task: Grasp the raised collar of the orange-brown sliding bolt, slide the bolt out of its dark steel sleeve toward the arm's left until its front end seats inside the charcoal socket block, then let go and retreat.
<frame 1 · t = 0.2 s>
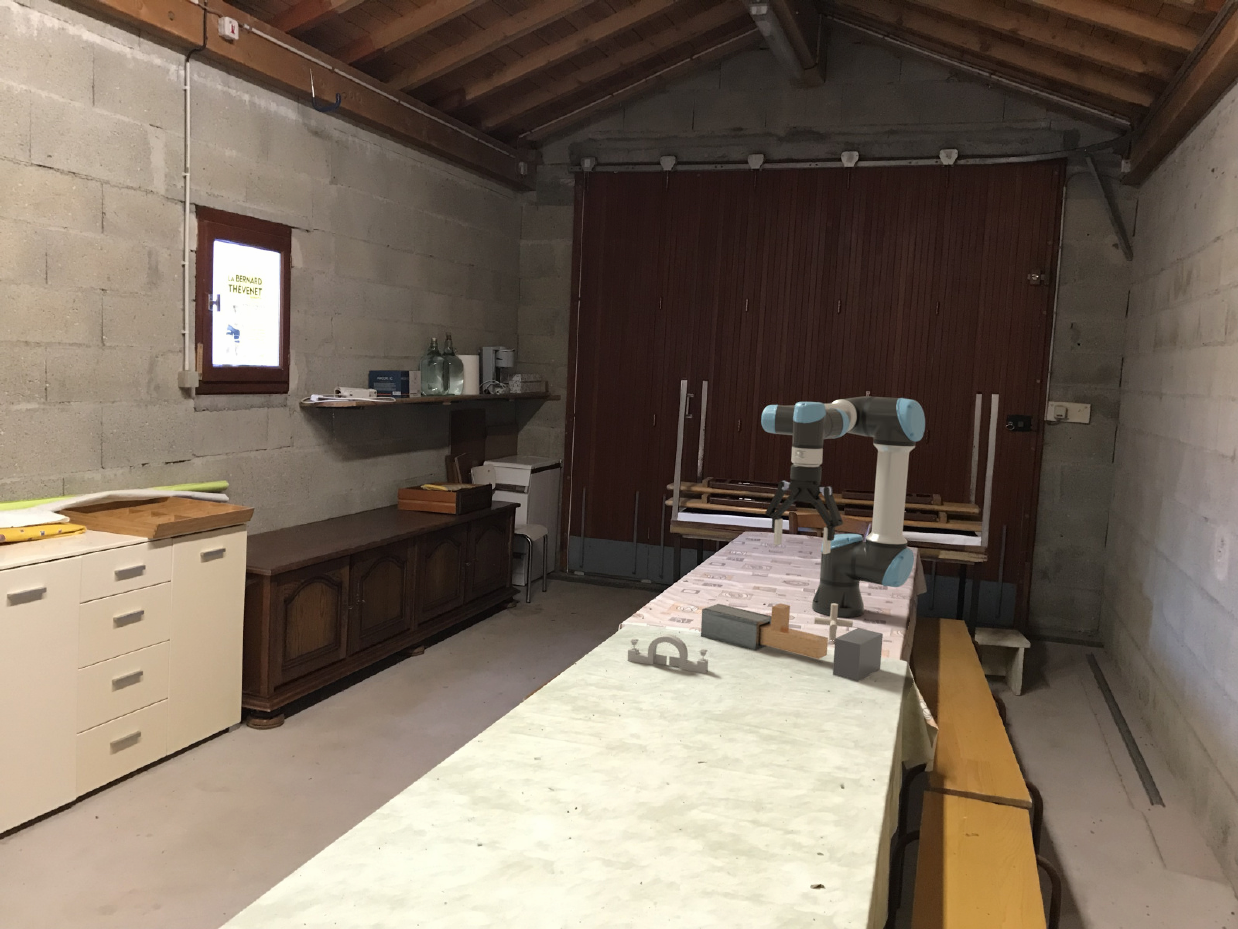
hand: (801, 548, 238), 28 cm above the table, fingers open, 13 cm apart
socket block: (856, 672, 232), on the table
orange-brown sliding bolt: (771, 623, 246), point 7 cm above the table, slide at 0.0 cm
cream cross joint: (832, 641, 256), on the table
gateway: (667, 667, 232), on the table
sleeve: (735, 640, 254), on the table
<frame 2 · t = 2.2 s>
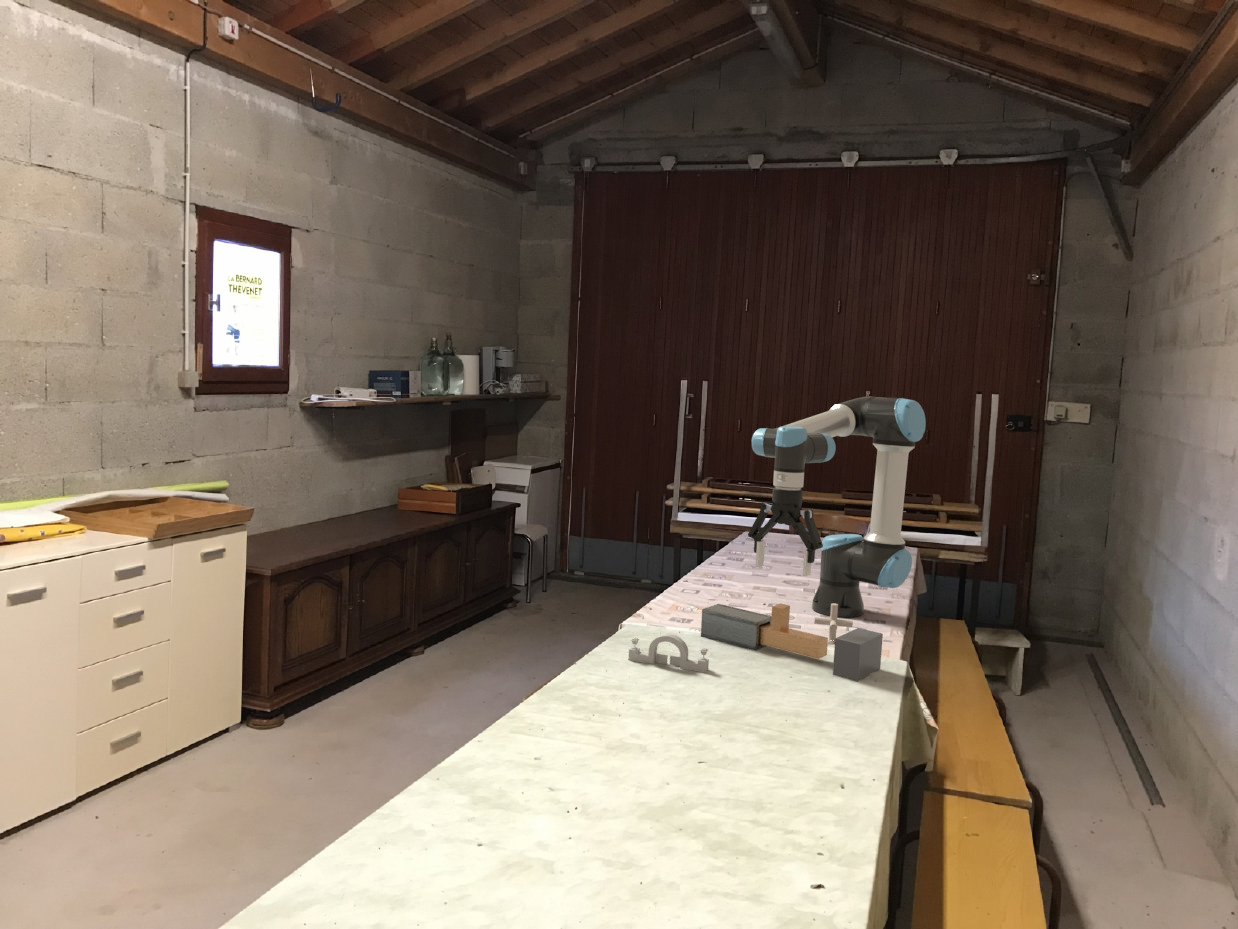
hand: (782, 570, 243), 21 cm above the table, fingers open, 13 cm apart
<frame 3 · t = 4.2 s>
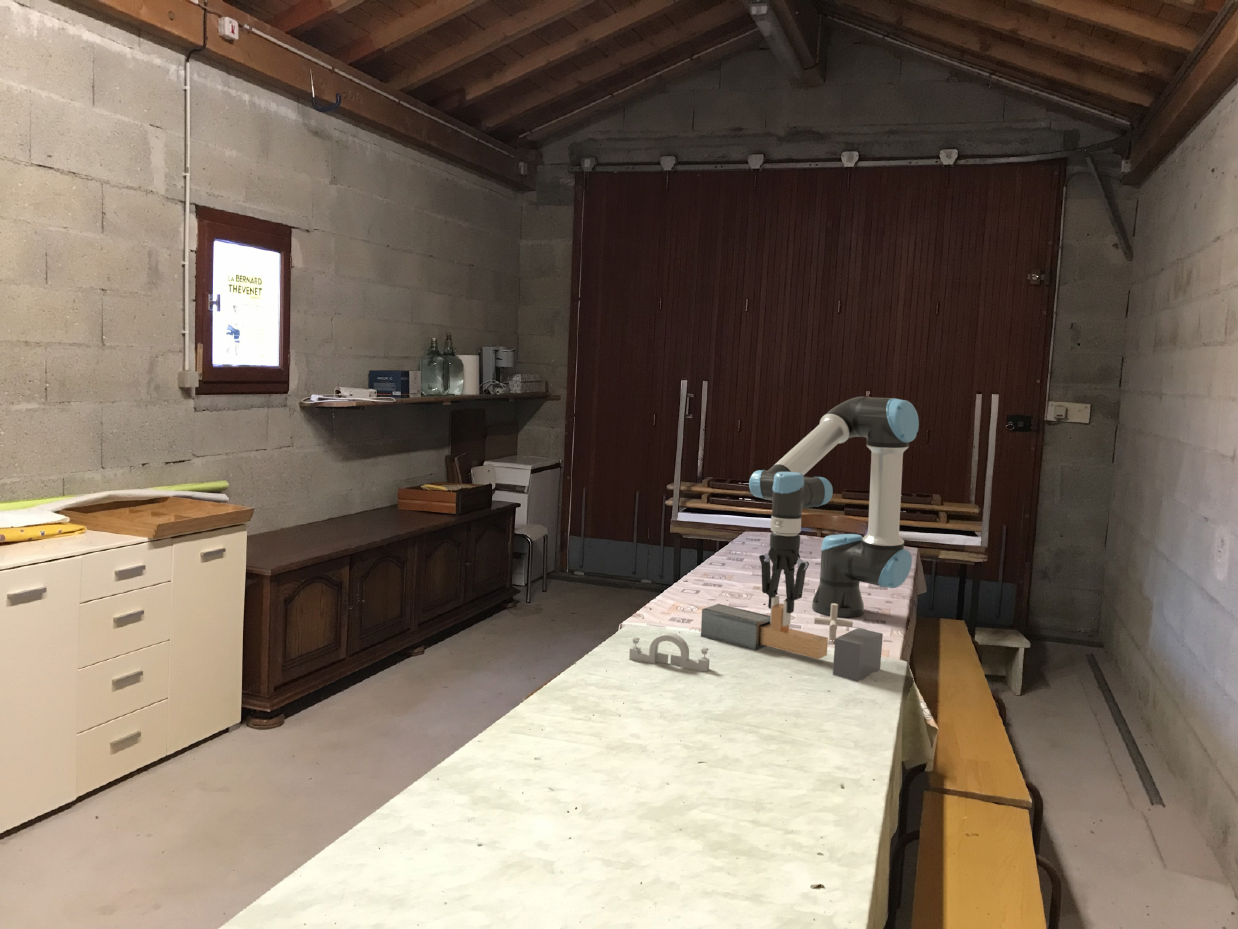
hand: (780, 623, 244), 8 cm above the table, fingers closed on orange-brown sliding bolt, 3 cm apart
orange-brown sliding bolt: (771, 623, 246), point 7 cm above the table, slide at 0.0 cm, touching gripper
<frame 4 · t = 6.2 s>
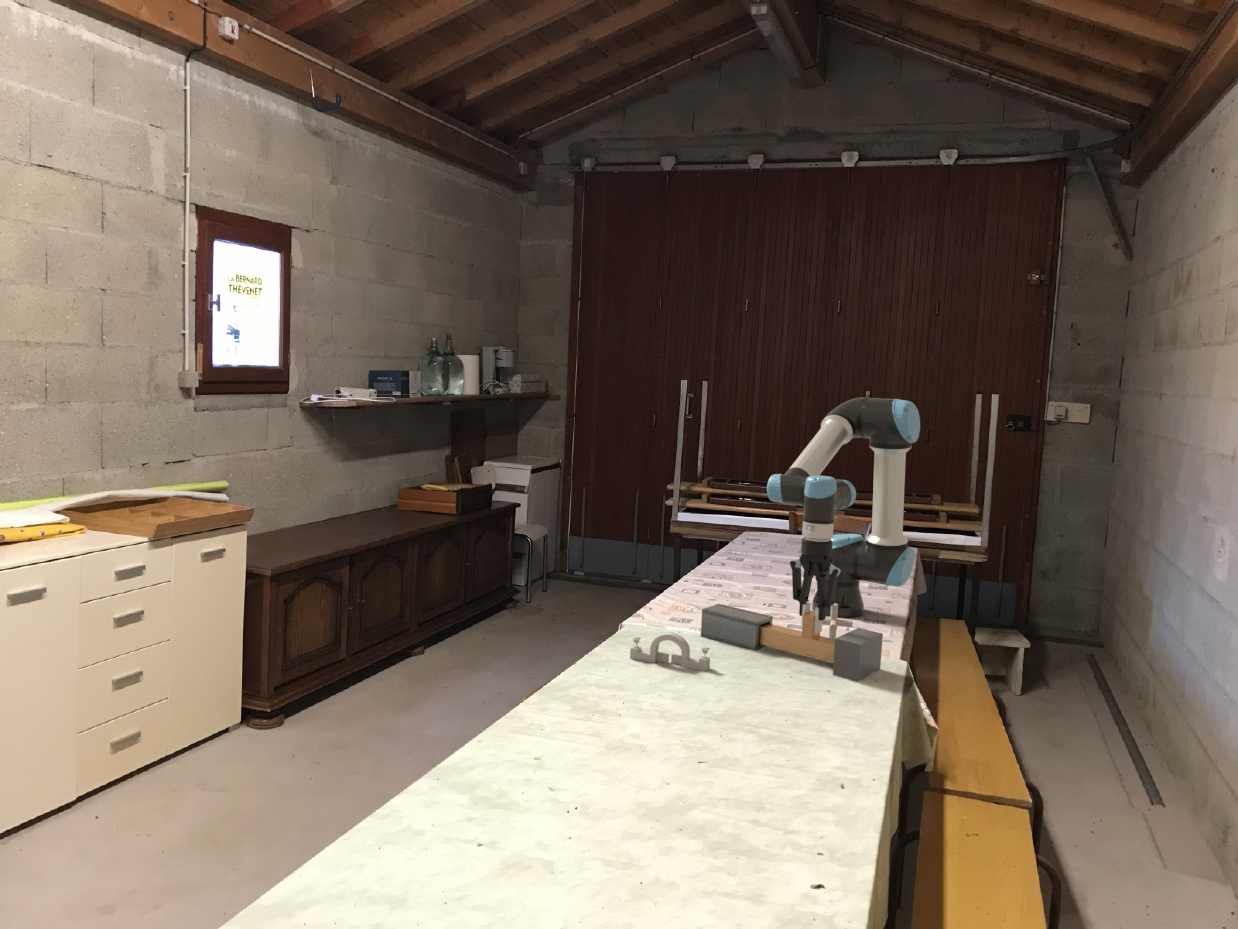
hand: (811, 630, 239), 8 cm above the table, fingers closed on orange-brown sliding bolt, 3 cm apart
orange-brown sliding bolt: (802, 631, 240), point 7 cm above the table, slide at 8.9 cm, touching gripper
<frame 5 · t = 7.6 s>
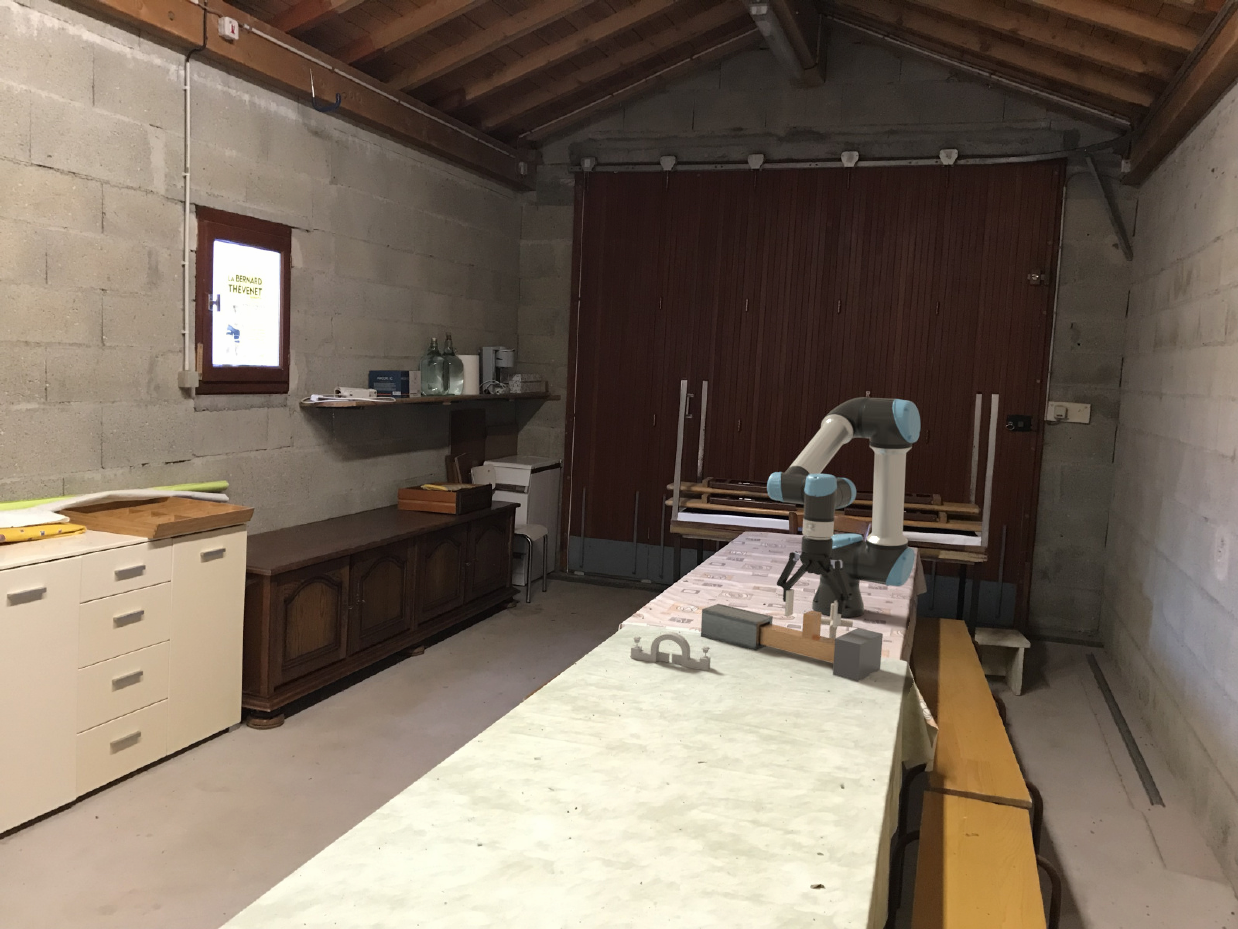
hand: (812, 620, 238), 10 cm above the table, fingers open, 13 cm apart
orange-brown sliding bolt: (802, 631, 240), point 7 cm above the table, slide at 9.0 cm
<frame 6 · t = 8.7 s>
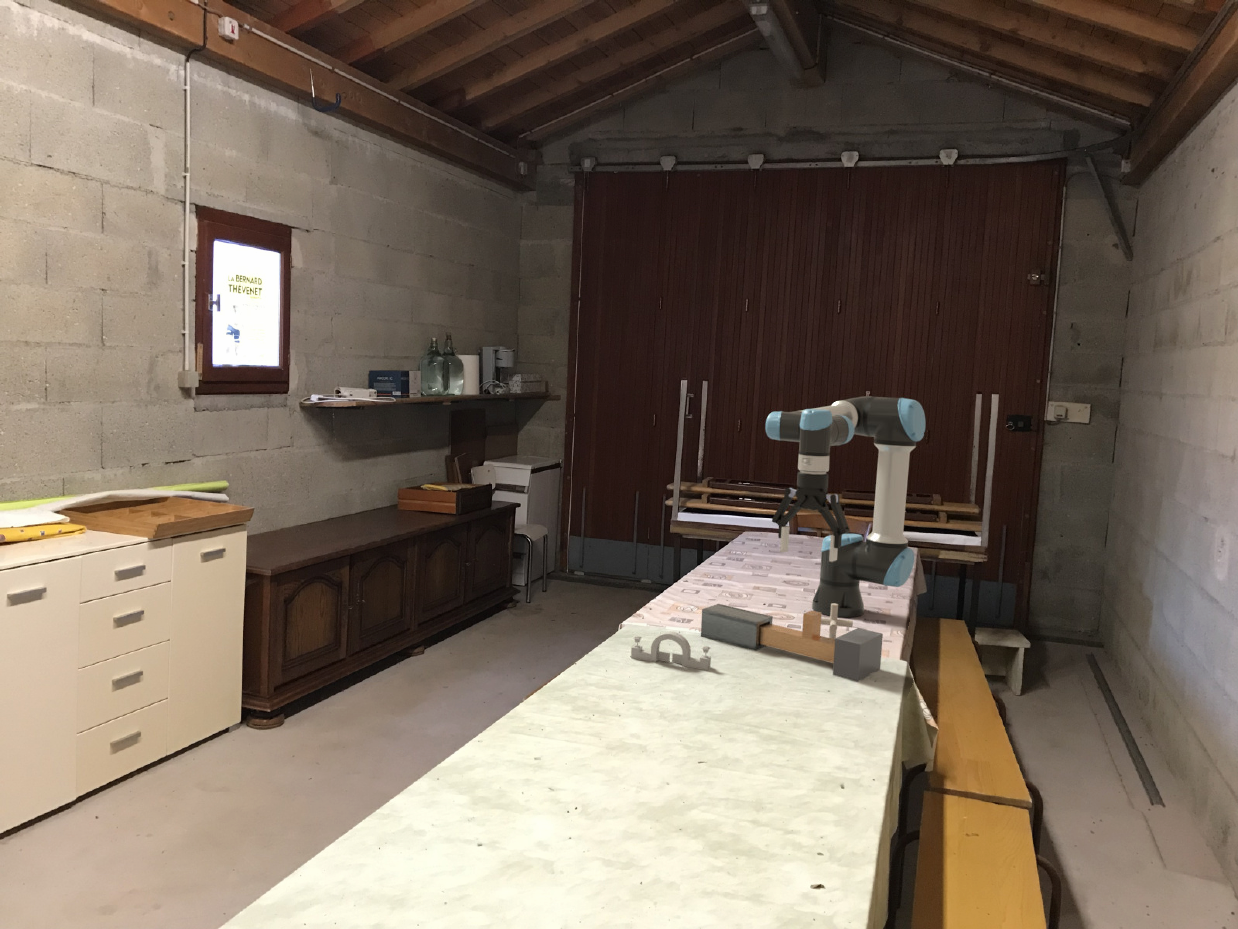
hand: (808, 556, 238), 26 cm above the table, fingers open, 13 cm apart
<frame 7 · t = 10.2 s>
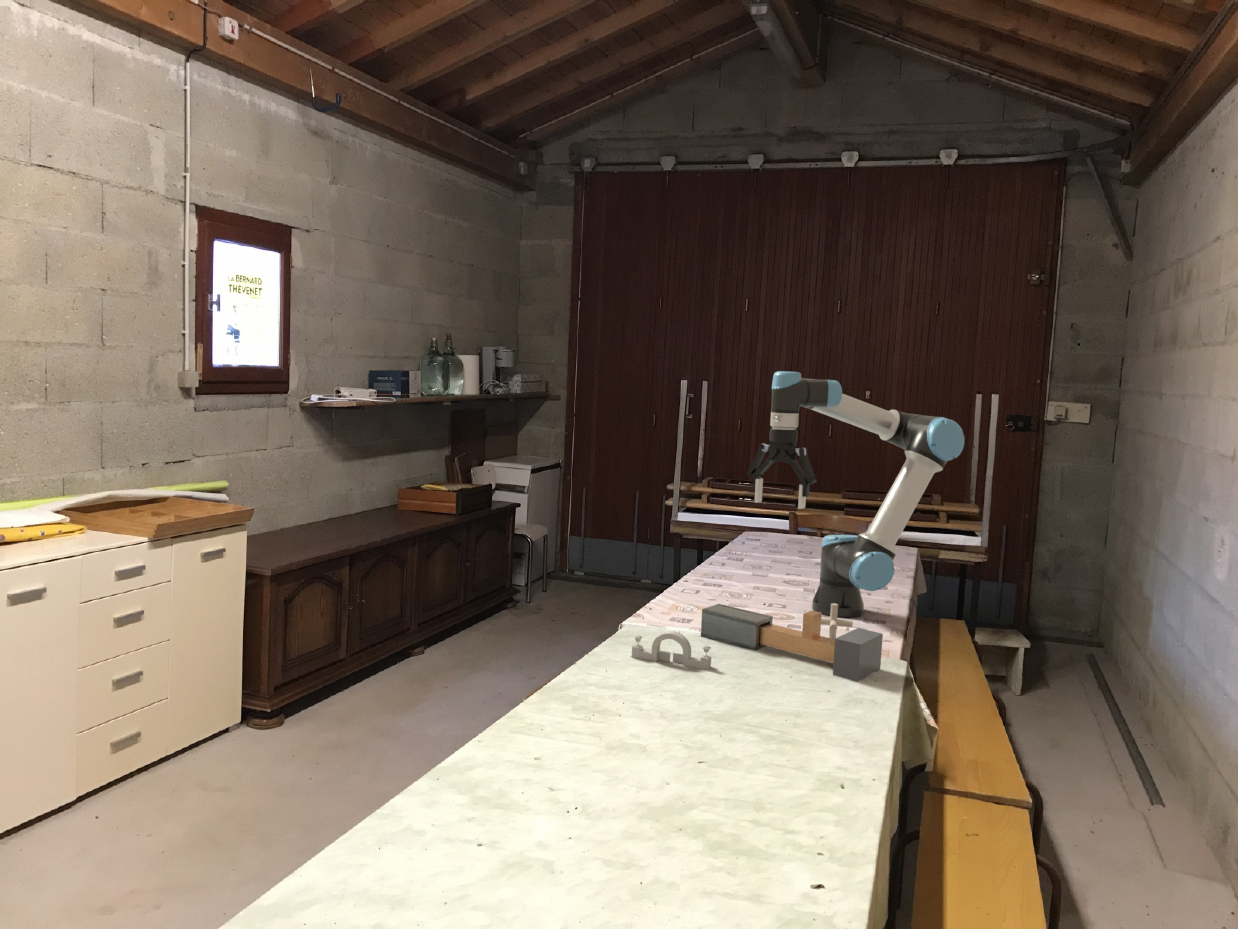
hand: (779, 505, 263), 35 cm above the table, fingers open, 13 cm apart
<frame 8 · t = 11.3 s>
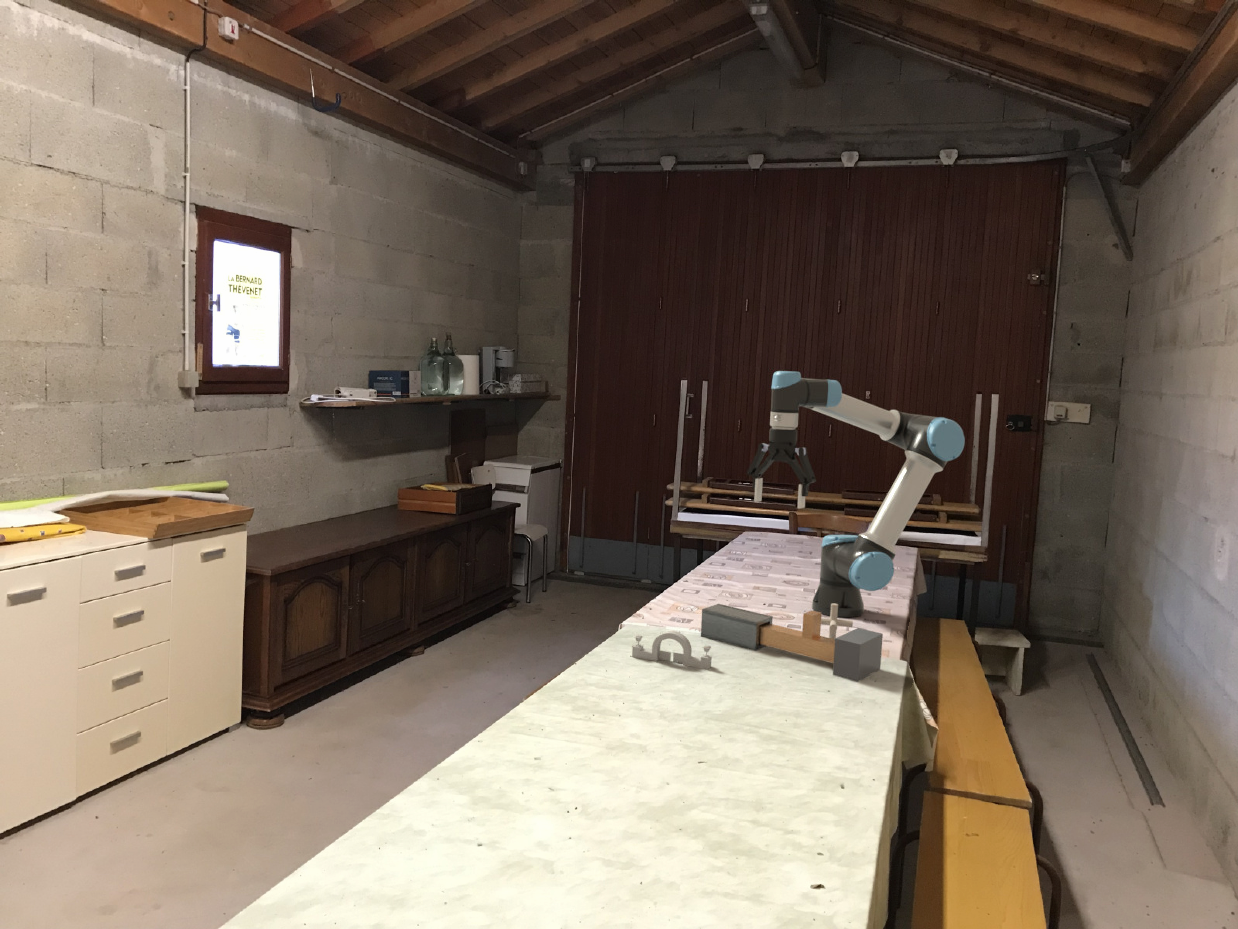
hand: (779, 504, 263), 35 cm above the table, fingers open, 13 cm apart
at the end: orange-brown sliding bolt slide at 9.0 cm; the gripper is holding nothing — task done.
